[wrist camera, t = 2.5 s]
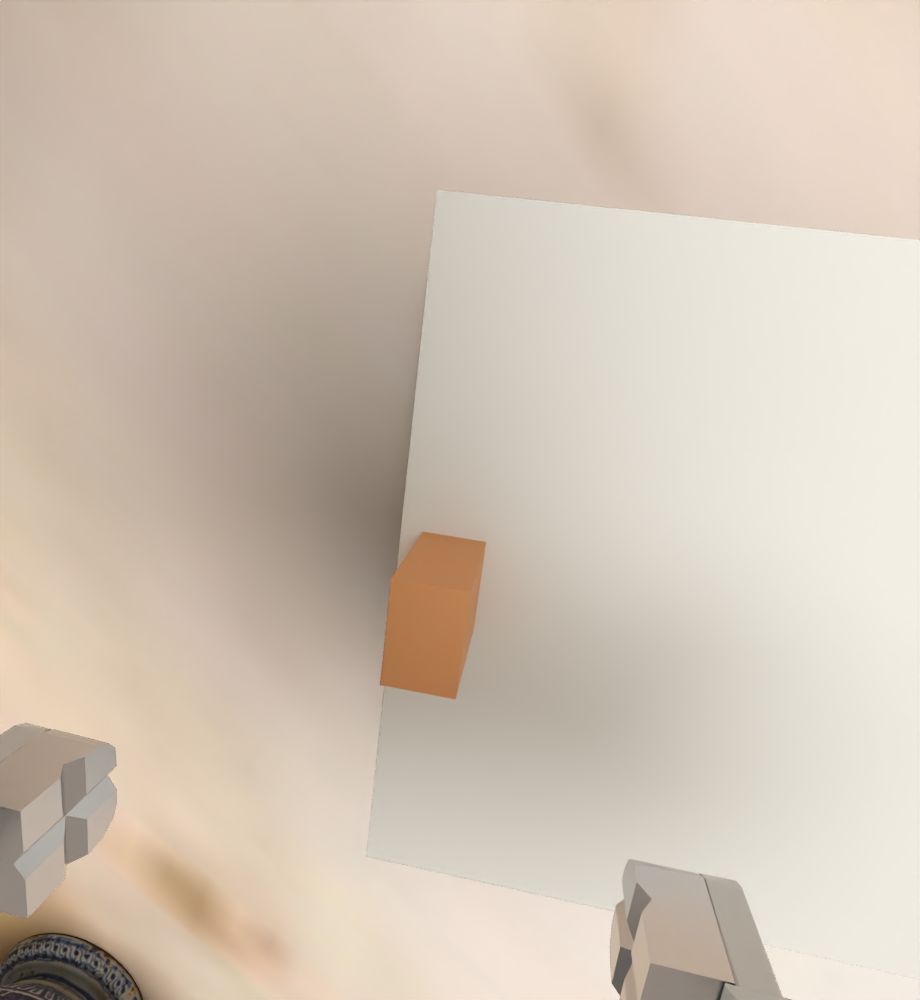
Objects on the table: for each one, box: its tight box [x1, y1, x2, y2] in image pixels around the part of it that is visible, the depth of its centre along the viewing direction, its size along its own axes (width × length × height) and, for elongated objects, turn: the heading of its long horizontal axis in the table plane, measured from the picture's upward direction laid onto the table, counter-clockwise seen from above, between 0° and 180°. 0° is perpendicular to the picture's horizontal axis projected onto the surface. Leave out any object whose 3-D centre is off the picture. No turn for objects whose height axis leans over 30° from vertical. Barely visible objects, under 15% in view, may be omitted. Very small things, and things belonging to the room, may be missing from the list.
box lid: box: [366, 190, 920, 980], centre depth 17 cm, size 20×22×5 cm
